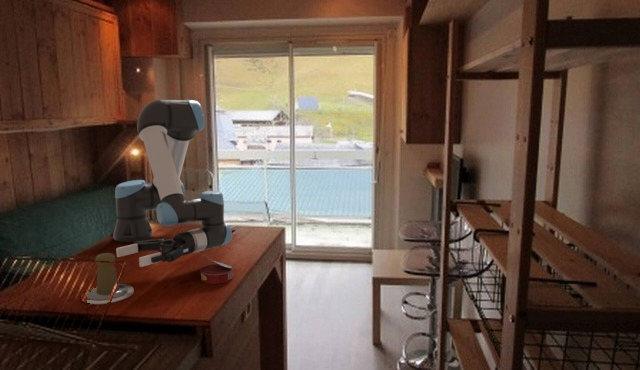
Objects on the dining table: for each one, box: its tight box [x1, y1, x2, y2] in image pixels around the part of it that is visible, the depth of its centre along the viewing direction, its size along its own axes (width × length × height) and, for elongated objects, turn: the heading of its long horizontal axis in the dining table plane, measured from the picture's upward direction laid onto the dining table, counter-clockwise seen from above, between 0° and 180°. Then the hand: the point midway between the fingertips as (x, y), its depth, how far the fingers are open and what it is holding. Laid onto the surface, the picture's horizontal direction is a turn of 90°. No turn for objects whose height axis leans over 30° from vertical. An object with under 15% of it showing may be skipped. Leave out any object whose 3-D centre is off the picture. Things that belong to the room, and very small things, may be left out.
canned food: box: [200, 253, 234, 284], centre depth 148 cm, size 11×10×10 cm
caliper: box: [230, 225, 238, 232], centre depth 200 cm, size 20×1×6 cm, turn 176°
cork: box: [94, 252, 119, 295], centre depth 133 cm, size 6×6×11 cm
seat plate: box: [86, 283, 135, 306], centre depth 134 cm, size 14×14×1 cm
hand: (127, 257), depth 138 cm, fingers open, 13 cm apart
